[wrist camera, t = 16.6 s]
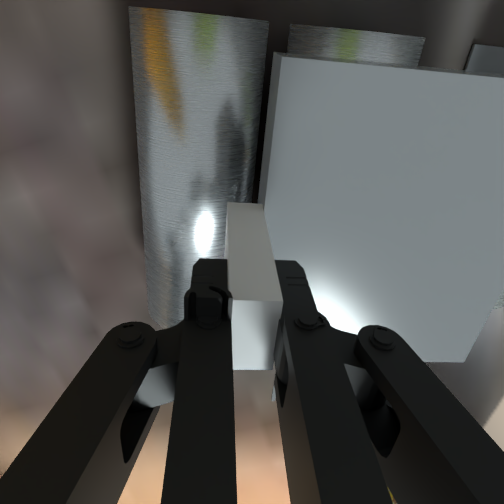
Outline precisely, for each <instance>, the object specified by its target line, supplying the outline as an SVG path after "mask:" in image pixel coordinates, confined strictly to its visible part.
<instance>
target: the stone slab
mask: <svg viewBox="0 0 504 504" xmlns="http://www.w3.org/2000/svg"><path fill="white" fill-rule="evenodd" d="M258 204H262V205H263V210H264V215H265V219H266V224H267V228H268V233H269V238H270V242H271V247H272V251H273V256H274V260H295V261H297V262H298V263H299V264H300V265H301V266H302V267H303V268H304V271H305V274H306V277H307V280H308V283H309V287H310V289H311V292H312V295H313V298H314V301H315V304H316V307H317V310H318V312H320V313H321V314H322V315H324V316H325V317H326V318H327V320H328V321H329V323H330V326H332V327H334V328H336V329H338V330H341V331H345V332H349V333H353V334H357V335H358V332H359V331H360V330H361V328H362V327H365V326H368V325H380V326H384V327H387V328H389V329H391V330H393V331H395V332H396V333H397V334H399V335H400V336H401V337H402V338H403V339H404V340H405V341H406V343H407V344H408V345H409V346H410V347H411V348H412V349H413V350H414V352H415V353H416V354H417V355H418V356H419V357H420V358H421V359H422V361H423V362H464V361H465V359H466V358H467V356H468V354H469V352H470V350H471V348H472V346H473V345H474V343H475V341H476V339H477V337H478V335H479V333H480V331H481V330H482V328H483V326H484V324H485V322H486V320H487V318H488V317H489V315H490V313H491V311H492V309H493V307H494V305H495V303H496V302H497V300H498V298H499V296H500V294H501V292H502V290H503V288H504V74H495V73H484V72H474V71H464V70H454V69H444V68H434V67H423V66H413V65H403V64H393V63H383V62H373V61H362V60H352V59H342V58H332V57H322V56H311V55H301V54H291V53H281V52H274V53H273V62H272V72H271V81H270V91H269V100H268V110H267V119H266V129H265V138H264V148H263V157H262V167H261V176H260V185H259V195H258Z"/></svg>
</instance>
